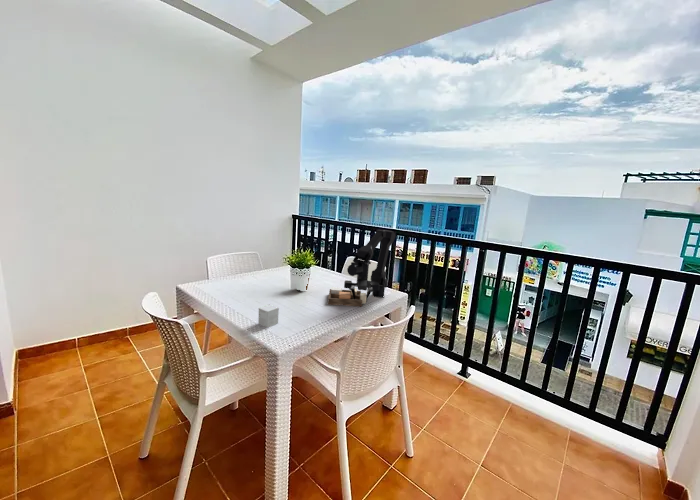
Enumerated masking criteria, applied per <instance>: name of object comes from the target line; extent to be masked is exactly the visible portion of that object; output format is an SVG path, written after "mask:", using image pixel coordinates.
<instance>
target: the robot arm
mask: <svg viewBox="0 0 700 500" xmlns="http://www.w3.org/2000/svg"><path fill="white" fill-rule="evenodd" d="M396 238H397V237H396V232H395V231H392V230H387V229H377V230H376V231H375V233H374V234H373V236H372V237H371V239H370V240H369V241H367V243H366V244H365V245H362V246H361V247H360V248H359V249H357V252H356V253H355V256H354V258H353V260H352V262H350V264H349V265H348V266H347V269H346V270H347V274H348V275H349V276H351V277H354V276H357V277H356V282H352V280H348V279H347V280H346V279H345V280H344V284H343V285H344V286H343V288H344V289H348V290H351V291H352V293H353V297H354V299H355V288H357V291H366V296H367V297H366V302H367V301H368V299H369V297H370V295H371V294H372V296H374V297H373V298H384V297H385V291H386V290H385V289H386V288H387V287H388V284H389V282H388V280H387V274H386V265H387V260H388V256H389V251H390V247H391V245H393V243H394V242H395V239H396ZM379 244H381V246H380V250H379V255H378V258H377V264H376V268H375V269H374V270H372V271H371V275H370V280H368V279H369V269H370V268H369V267H370V266H369V265H371V264H372V262H371V259H372V258H373V256H374V251H375V249H376V248H377V247H378V245H379ZM383 296H384V297H383Z"/></svg>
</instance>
